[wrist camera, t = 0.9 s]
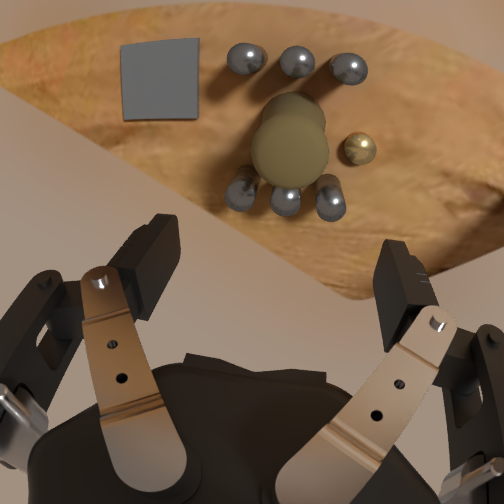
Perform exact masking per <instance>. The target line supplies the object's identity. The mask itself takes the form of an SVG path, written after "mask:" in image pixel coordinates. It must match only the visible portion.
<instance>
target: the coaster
mask: <svg viewBox="0 0 504 504" xmlns="http://www.w3.org/2000/svg"><path fill="white" fill-rule="evenodd" d="M199 41H200V38H186V39H172V40H161V41H152V42H144V43H136V44H129V45H122V46H121V79H122V99H123V114H124V120H128V119H157V118H199Z"/></svg>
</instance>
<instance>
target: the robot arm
mask: <svg viewBox="0 0 504 504" xmlns="http://www.w3.org/2000/svg"><path fill="white" fill-rule="evenodd" d="M180 251H181V247H180V238H179V228H178V219H177V216H175V215H170V214H156V215H155V216H154V218H153V219H152V220H151V221H150V223H149V224H148V225H145V224H144V225H142V226H141V227H139V228H138V229H136V230H134V231H133V233H132V234H131V235H130V236H129V237H128V240H126V241H125V242H124V244H123V246H121V247H120V249H119V250H118V251H117V253H116V254H115V255H114V256H113V258H112V259H111V260H110V261H109V263H108V264H107V265H106V266H99V267H95V268H93V269H91V270H89V271H88V272H86V273H85V274H84V275H83V277H82V279H81V280H79V281H67V282H63V279H62V276H61V274H60V273H59V272H58V271H56V270H46V271H43V272H40V273H38V274H37V275H36V276H34V277H33V278H32V279H31V280H30V282H29V283H28V284H27V285H26V287H25V288H24V289H23V291H22V292H21V293H20V294H19V296H18V297H17V298H16V300H15V301H14V302H13V304H12V305H11V306H10V308H9V309H8V310H7V312H6V313H5V315H4V316H3V317H2V319H1V320H0V463H1V464H2V465H4V466H5V467H7V468H9V469H19V470H20V471H22V472H24V473H26V474H27V475H28V487H29V497H28V504H504V333H503V332H502V331H501V330H500V329H499V328H497V327H495V326H493V325H489V324H484V325H482V326H480V327H479V329H478V330H477V332H476V333H472V332H470V331H467V330H464V329H461V328H458V327H457V323H456V320H455V318H454V317H453V316H452V314H451V313H449V312H448V311H447V310H445V309H444V308H442V307H439V304H438V301H437V299H436V296H435V293H434V291H433V288H432V286H431V283H430V281H429V278H428V276H427V273H426V271H425V268H424V266H423V264H422V263H421V262H420V261H419V260H418V259H417V258H416V257H415V256H412V255H410V254H409V251H408V249H407V247H406V244H405V242H403V241H396V240H389V239H386V240H385V241H384V242H383V245H382V248H381V252H380V255H379V258H378V262H377V265H376V268H375V271H374V276H373V289H374V294H375V299H376V304H377V310H378V316H379V321H380V327H381V333H382V338H383V345H384V351H385V352H387V353H388V354H387V356H386V357H385V358H384V360H383V361H382V362H381V364H380V365H379V366H378V367H377V369H376V370H375V371H374V372H373V373H372V375H371V376H370V377H369V378H368V380H367V381H366V382H365V383H364V385H363V386H362V387H361V388H360V389H359V390H358V392H357V393H356V394H355V395H354V396H352V395H350V394H349V393H347V392H346V391H344V390H343V389H341V388H339V387H337V386H335V385H332V384H330V383H327V382H326V372H317V371H308V370H298V369H286V370H275V371H263V372H252V371H250V370H247V369H244V368H242V367H239V366H236V365H234V364H231V363H229V362H226V361H224V360H221V359H217V358H211V357H206V356H200V355H195V354H189V353H186V356H185V359H184V361H183V363H174V364H168V365H164V366H161V367H158V368H155V369H153V370H151V369H150V367H149V364H148V361H147V359H146V356H145V353H144V351H143V348H142V345H141V342H140V339H139V337H138V333H137V330H136V327H135V325H134V323H135V322H136V320H137V319H140V320H146V321H148V320H149V318H150V316H151V314H152V312H153V310H154V308H155V306H156V304H157V302H158V300H159V298H160V297H161V295H162V293H163V291H164V289H165V287H166V285H167V283H168V281H169V280H170V278H171V276H172V274H173V272H174V270H175V268H176V266H177V264H178V262H179V259H180V253H181V252H180ZM45 324H46V325H47V327H48V330H47V332H46V333H45V335H44V337H43V338H42V340H41V342H40V343H39V345H38V347H36V340H37V336H38V334H39V333H40V331H41V330H42V328H43V326H44V325H45ZM82 339H84V340H85V346H86V351H87V357H88V362H89V367H90V372H91V377H92V381H93V385H94V390H95V393H96V398H97V402H98V403H96V404H95V405H93V406H91V407H89V408H87V409H86V410H84V411H82V412H81V413H79V414H77V415H76V416H74V417H72V418H70V419H69V420H67V421H65V422H64V423H62V424H60V425H58V426H57V427H55V428H53V429H51V430H50V431H48V429H47V428H48V416H47V414H46V412H47V410H48V408H49V406H50V403H51V401H52V399H53V397H54V395H55V392H56V391H57V388H58V386H59V384H60V382H61V380H62V378H63V376H64V374H65V372H66V370H67V368H68V366H69V364H70V362H71V360H72V358H73V356H74V354H75V352H76V350H77V348H78V347H79V345H80V343H81V341H82ZM431 384H432V385H435V386H439V387H442V392H443V398H444V406H445V414H446V422H447V431H448V442H449V454H450V473H448V475H447V476H446V477H445V478H444V480H443V483H442V486H441V491H440V493H439V498H438V496H437V495H436V493H435V492H434V491H433V490H432V488H431V487H430V486H429V485H428V484H427V483H426V481H425V480H424V479H423V478H422V477H421V475H420V474H419V473H418V472H417V471H416V470H415V468H414V467H413V466H412V465H411V464H410V463H409V461H408V460H407V459H406V458H405V457H404V455H403V454H402V453H401V452H400V451H399V450H398V448H397V447H396V446H395V445H394V443H395V442H396V441H397V439H398V438H399V436H400V435H401V433H402V432H403V430H404V429H405V427H406V426H407V424H408V423H409V421H410V420H411V418H412V416H413V415H414V413H415V412H416V410H417V408H418V407H419V405H420V403H421V402H422V400H423V398H424V397H425V395H426V393H427V391H428V390H429V388H430V386H431ZM479 386H481V391H482V395H483V403H482V401H481V397H480V392H479Z"/></svg>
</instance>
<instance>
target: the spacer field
mask: <svg viewBox="0 0 504 504" xmlns="http://www.w3.org/2000/svg"><path fill="white" fill-rule="evenodd" d="M267 60H268V57H267V53H266V51H265V50H264V49H263V48H262V47H260V46H258V45H253V44H249V43H239V44H236V45H235V46H233V47H232V48H231V49H230V50H229V52H228V54H227V63H228V66H229V67H230V69H231V70H232V71H234V72H235V73H238V74H242V75H246V74H250V73H253V72H256V71H258V70H261V69H262V68H263V67H264V66H265V65H266V63H267ZM280 65H281V68H282V70H283V71H284V72H285V73H286V74H287V75H288V76H290V77H293V78H304V77H306V76H308V75H309V74H311V72H312V71H313V70H314V67H315V59H314V56H313V54H312V53H311V52H310V51H309V50H308V49H306V48H304V47H301V46H292V47H289V48H287V49H286V50H285V51H284V52H283V53H282V55H281V58H280ZM328 68H329V71H330V73H331V75H332V76H333V77H335V78H336V79H338V80H339V81H341V82H342V83H344V84H346V85H358V84H360V83H362V82H363V81H364V80H365V79H366V77H367V74H368V68H367V64H366V62H365V61H364V60H363V58H361V57H360V56H359V55H356V54H353V53H340V54H336V55H334V56H333V57H332V58H331V59H330V61H329V64H328ZM260 181H261V176H260V175H259V173H258V172H257V171H256V169H255V167H254V166H251V165H244V166H241V167H240V168H239V169H238V170H237V171H236V173H235V175H234V177H233V179H232V181H231V183H230V185H229V187H228V189H227V191H226V193H225V202H226V204H227V205H228V206H229V207H230V208H231V209H233V210H235V211H239V212H242V211H246V210H248V209H250V208H251V207H252V205H253V203H254V200H255V197H256V194H257V190H258V187H259V184H260ZM315 196H316V210H317V214H318V215H319V217H320V218H321V219H323V220H325V221H328V222H334V221H337V220H339V219H341V218H342V217H343V216H344V214H345V212H346V204H345V200H344V196H343V192H342V188H341V184H340V181H339V179H338V178H337V177H336V176H334V175H332V174H324V175H321V176H320V177H319V178H318V179H317V180H316V182H315ZM300 204H301V188H299V189H294V190H291V189H281V188H278V187H276V186H273V191H272V195H271V200H270V205H271V208H272V210H273V211H274V212H275V213H276V214H278V215H280V216H291V215H294V214H295V213H296V212H297V211H298V210H299V208H300Z"/></svg>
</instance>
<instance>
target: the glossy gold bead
mask: <svg viewBox="0 0 504 504" xmlns="http://www.w3.org/2000/svg"><path fill="white" fill-rule="evenodd" d="M344 150H345V153H346V156H347V157H348V159H349V160H350V161H351V162H352V163H354V164H357V165H365V164H368V163H369V162H371V161H372V160H373V159H374V157H375V155H376V145H375V143H374V141H373V140H372V138H371V137H370V136H369V135H367V134H366V133H363V132H355V133H352V134H351V135H349V136H348V137H347V139H346V140H345V143H344Z"/></svg>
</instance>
